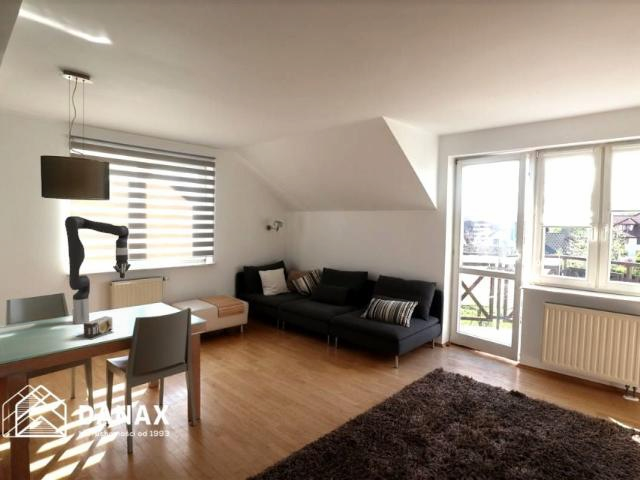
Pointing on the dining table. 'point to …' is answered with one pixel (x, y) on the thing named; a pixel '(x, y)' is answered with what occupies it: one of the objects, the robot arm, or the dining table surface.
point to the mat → (96, 336)
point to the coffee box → (97, 327)
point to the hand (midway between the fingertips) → (122, 278)
